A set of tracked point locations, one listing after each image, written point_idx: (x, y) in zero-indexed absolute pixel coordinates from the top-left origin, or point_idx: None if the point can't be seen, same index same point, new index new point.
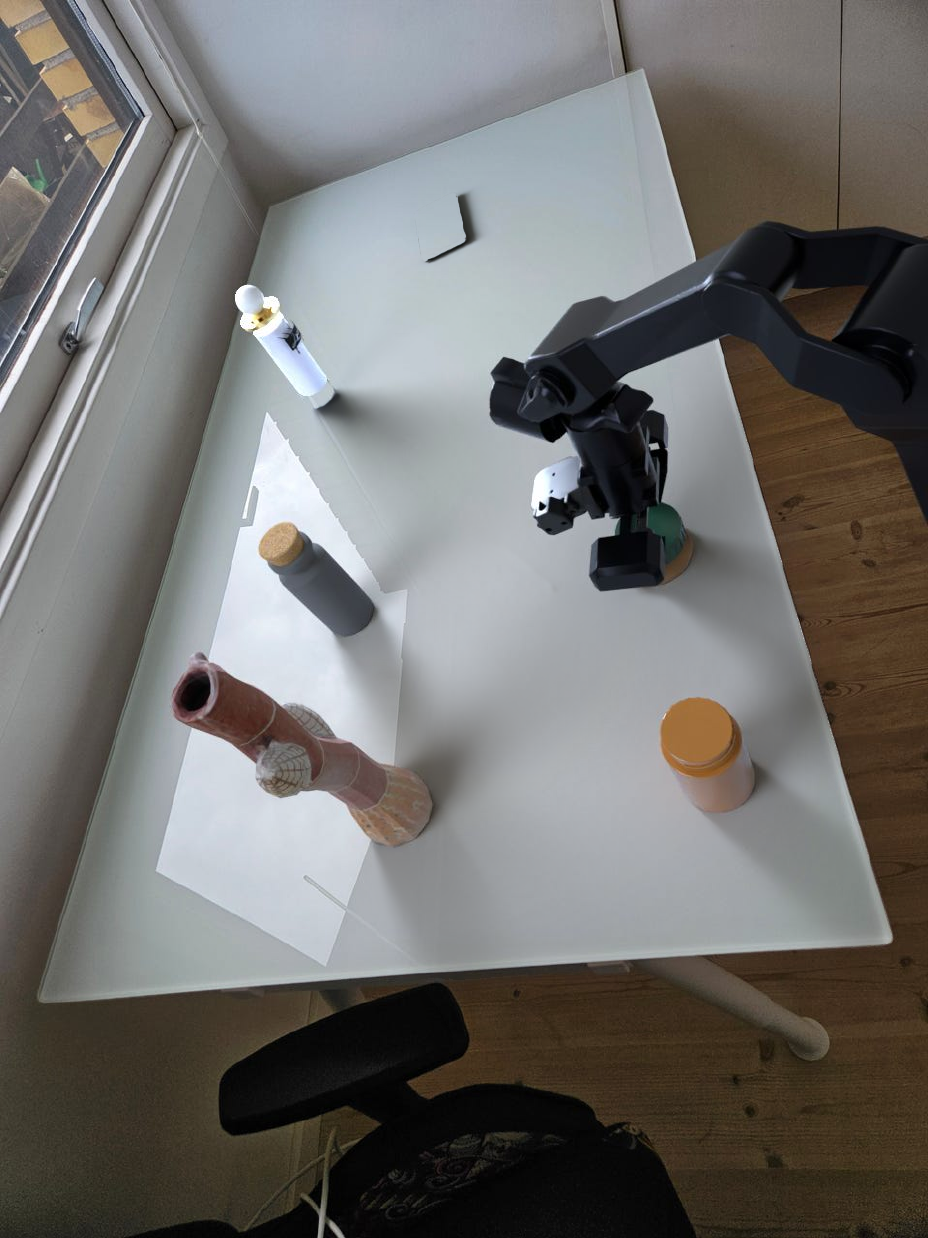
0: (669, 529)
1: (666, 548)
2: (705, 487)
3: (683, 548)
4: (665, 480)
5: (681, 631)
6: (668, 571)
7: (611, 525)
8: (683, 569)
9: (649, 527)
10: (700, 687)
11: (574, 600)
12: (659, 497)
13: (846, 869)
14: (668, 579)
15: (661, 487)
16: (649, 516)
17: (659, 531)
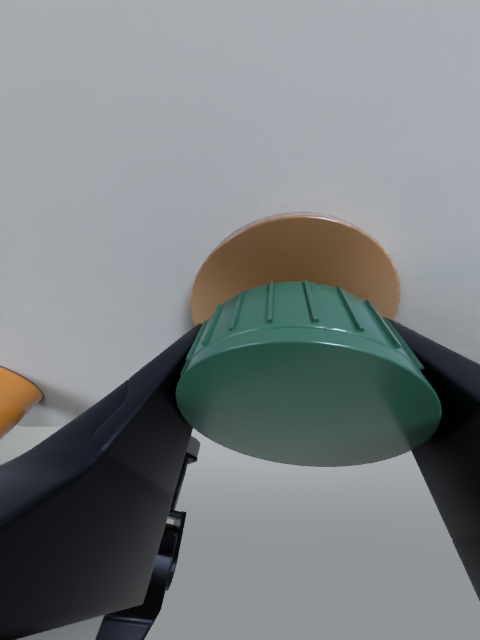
0: (274, 451)
1: (214, 441)
2: None
3: None
4: (475, 588)
5: (133, 358)
6: None
7: (459, 170)
8: None
9: (291, 430)
10: (74, 373)
11: (84, 60)
12: (421, 459)
13: (29, 423)
14: None
15: (453, 533)
16: (342, 436)
17: (270, 441)
